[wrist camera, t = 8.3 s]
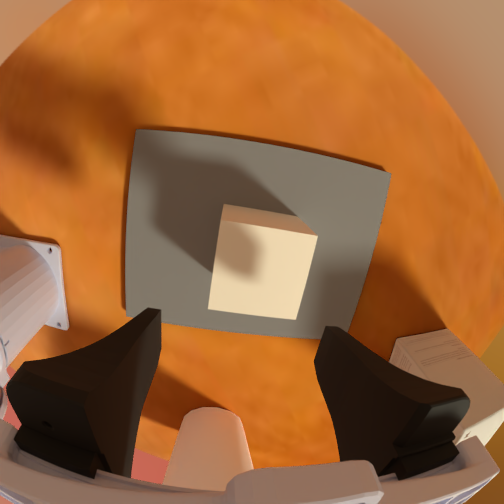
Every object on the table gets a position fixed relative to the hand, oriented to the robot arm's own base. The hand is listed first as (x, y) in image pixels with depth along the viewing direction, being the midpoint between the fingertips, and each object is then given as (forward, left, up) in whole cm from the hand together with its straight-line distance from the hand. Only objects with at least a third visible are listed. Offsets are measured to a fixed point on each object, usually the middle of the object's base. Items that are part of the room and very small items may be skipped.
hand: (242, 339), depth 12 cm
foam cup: (0, -18, -10) cm, 21 cm away
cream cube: (+1, +2, -9) cm, 9 cm away
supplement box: (+20, -8, -10) cm, 24 cm away
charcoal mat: (+1, +2, -9) cm, 9 cm away
